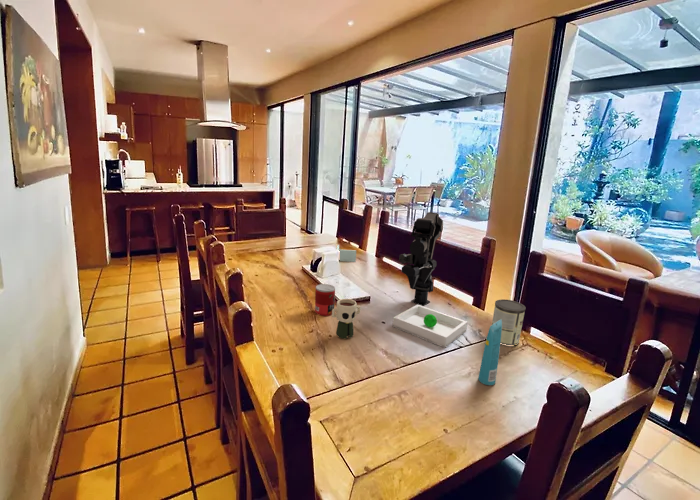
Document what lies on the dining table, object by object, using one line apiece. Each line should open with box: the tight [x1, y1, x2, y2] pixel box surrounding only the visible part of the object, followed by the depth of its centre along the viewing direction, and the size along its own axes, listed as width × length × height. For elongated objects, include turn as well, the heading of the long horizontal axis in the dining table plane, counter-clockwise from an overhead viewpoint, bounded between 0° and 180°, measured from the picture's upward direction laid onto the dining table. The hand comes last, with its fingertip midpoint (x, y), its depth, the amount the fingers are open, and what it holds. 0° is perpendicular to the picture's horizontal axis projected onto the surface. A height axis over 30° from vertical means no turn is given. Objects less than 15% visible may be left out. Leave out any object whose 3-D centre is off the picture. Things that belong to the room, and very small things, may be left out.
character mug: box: [331, 298, 361, 340], centre depth 132 cm, size 11×7×13 cm, turn 115°
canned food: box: [314, 283, 336, 317], centre depth 151 cm, size 8×8×11 cm
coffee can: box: [491, 298, 526, 345], centre depth 136 cm, size 10×10×14 cm
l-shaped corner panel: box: [336, 244, 357, 263], centre depth 228 cm, size 12×12×8 cm
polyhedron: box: [424, 314, 437, 327], centre depth 142 cm, size 5×5×5 cm
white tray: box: [392, 304, 468, 349], centre depth 142 cm, size 18×22×4 cm
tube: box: [477, 320, 502, 386], centre depth 109 cm, size 7×5×19 cm, turn 140°
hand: (417, 285), depth 154 cm, fingers open, 9 cm apart
